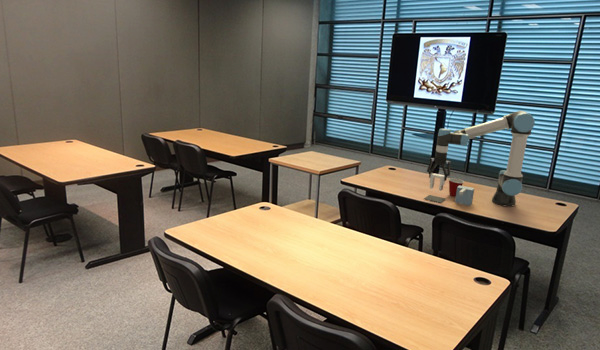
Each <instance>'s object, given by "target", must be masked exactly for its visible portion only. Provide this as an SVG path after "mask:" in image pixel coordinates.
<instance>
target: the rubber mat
mask: <svg viewBox="0 0 600 350" xmlns="http://www.w3.org/2000/svg"><path fill="white" fill-rule="evenodd" d="M424 199H425V200H424ZM445 199H446V200H447V198H446V197H441V196H437V195H432V194H428V195H426V196H425V197H424V198H423V200H424V201H428V200H430V201H429V202H433V201H434V202H433V203H437V202H438V203H437V204H442V203H443V202H444V201H446V200H445Z"/></svg>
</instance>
